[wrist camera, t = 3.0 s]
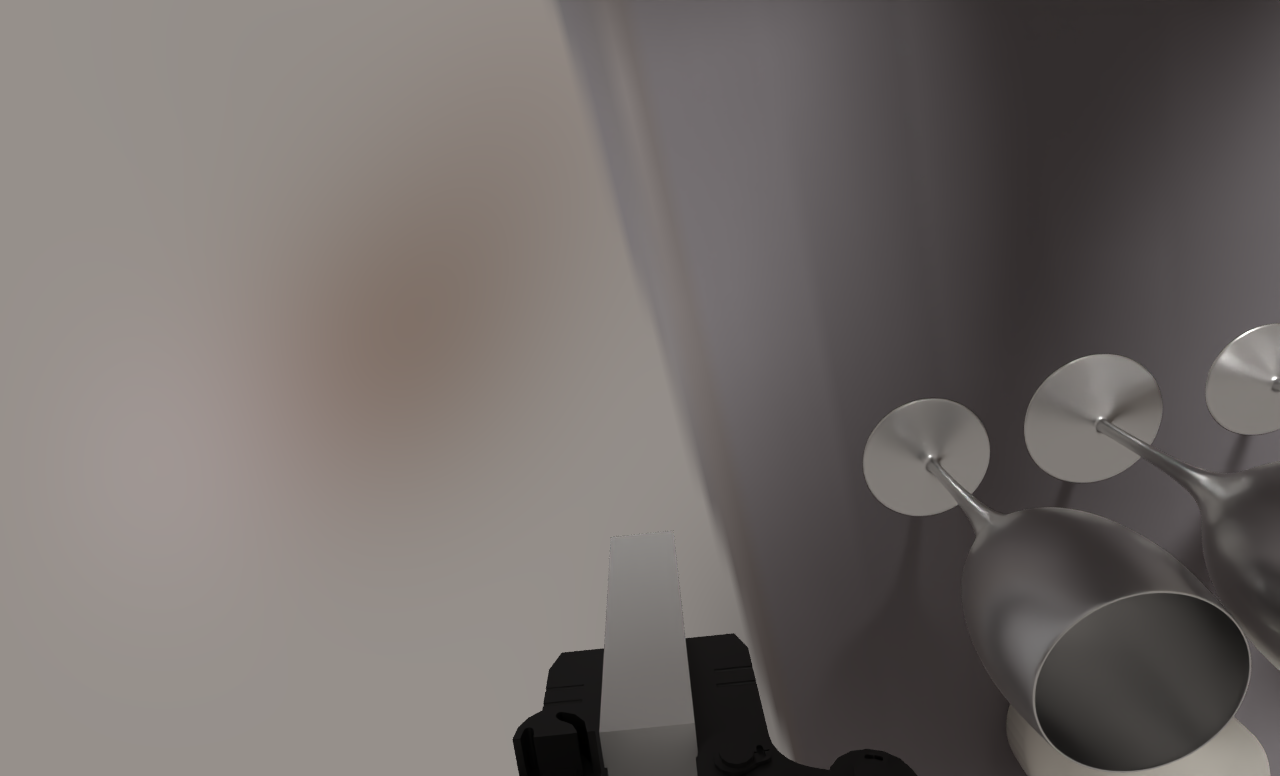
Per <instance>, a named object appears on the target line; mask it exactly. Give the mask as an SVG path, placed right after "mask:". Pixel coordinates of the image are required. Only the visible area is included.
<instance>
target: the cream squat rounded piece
mask: <svg viewBox="0 0 1280 776" xmlns="http://www.w3.org/2000/svg"><path fill="white" fill-rule="evenodd" d="M1006 731H1007V738H1008V742H1009V745H1010V747H1011V750H1012V752H1013V754H1014V755H1015V757H1016V759H1017V760H1018V762H1019V763H1020V765H1021V767H1022V768H1023V770H1024V771H1025V773H1026V775H1027V776H1270V768H1269V762H1268V759H1267V755H1266V753H1265V751H1264V749H1263V747H1262V745H1261V744H1260V742H1259V741H1258V740H1257V738H1256V737H1255V736H1254V735H1253V734H1252V733H1251V732H1250V731H1249V730H1248V729H1247V728H1246V727H1245V726H1244V725H1243V724H1241V723H1240V722H1239V721H1238V720H1237V719H1236V718H1235V717H1233V718H1232V719H1231V721H1230V722H1229V723H1228V724H1227V725H1226V727H1225V728H1224V729H1223V730H1222V731H1221V732H1220V733H1219V734H1218V735H1217V736H1216V737H1214V738H1213V739H1212V740H1211V741H1210V742H1208V743H1207V744H1206V745H1204V746H1203V747H1202V748H1200V749H1199V750H1197V751H1195V752H1194V753H1192V754H1190V755H1188V756H1186V757H1184V758H1182V759H1180V760H1178V761H1176V762H1173V763H1171V764H1168V765H1165V766H1162V767H1159V768H1155V769H1151V770H1146V771H1139V772H1129V773H1114V772H1104V771H1098V770H1094V769H1090V768H1087V767H1084V766H1081V765H1079V764H1077V763H1074V762H1072V761H1071V760H1069V759H1067V758H1066V757H1064V756H1063V755H1061V754H1060V753H1058V752H1057V751H1056V750H1055V749H1054V748H1053V747H1052V746H1050V745H1049V744H1048V743H1047V742H1046V741H1045V740H1044V739H1043V738H1042V737H1041V736H1040V735H1039V734H1038V733H1037V732H1036V731H1035V730H1034V729H1033V728H1032V727H1031V726H1030V725H1029V724H1028V723H1027V722H1026V720H1025V719H1024V718H1023V717H1022V716H1021V715H1020V714H1019V713H1018V712H1017V711H1016V710H1015V709H1014V708H1013V706H1012V705H1011V704H1010V706H1009V709H1008V713H1007V721H1006Z"/></svg>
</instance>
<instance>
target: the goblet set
mask: <svg viewBox="0 0 1280 776" xmlns="http://www.w3.org/2000/svg"><path fill="white" fill-rule="evenodd" d="M1205 399H1206V404H1207V407H1208V410H1209V412H1210V414H1211V415H1212V417H1213V418H1214V419H1215V421H1216V422H1217V423H1218V424H1220V425H1221V426H1222V427H1224V428H1225V429H1227V430H1229V431H1231V432H1234V433H1238V434H1243V435H1260V434H1265V433H1269V432H1273V431H1275V430H1278V429H1280V323H1274V324H1266V325H1262V326H1259V327H1256V328H1253V329H1251V330H1248V331H1246V332H1244V333H1243V334H1241V335H1239V336H1238V337H1236V338H1235V339H1234V340H1232V341H1231V342H1230V343H1229V344H1228V345H1227V346H1226V347H1225V348H1224V349H1223V350H1222V351H1221V352H1220V354H1219V355H1218V356H1217V358H1216V359H1215V361H1214V362H1213V364H1212V366H1211V368H1210V371H1209V373H1208V376H1207V380H1206V385H1205ZM1162 411H1163V404H1162V396H1161V392H1160V389H1159V387H1158V384H1157V382H1156V381H1155V379H1154V377H1153V376H1152V375H1151V373H1150V372H1149V371H1148V370H1147V369H1146V368H1145V367H1143V366H1142V365H1141V364H1139V363H1138V362H1136V361H1134V360H1132V359H1130V358H1127V357H1124V356H1121V355H1116V354H1094V355H1088V356H1084V357H1081V358H1078V359H1075V360H1073V361H1071V362H1069V363H1067V364H1065V365H1063V366H1062V367H1060V368H1059V369H1057V370H1056V371H1055V372H1053V373H1052V374H1051V375H1050V376H1049V377H1048V378H1047V379H1046V380H1045V381H1044V382H1043V383H1042V384H1041V385H1040V386H1039V388H1038V389H1037V390H1036V392H1035V394H1034V395H1033V397H1032V399H1031V401H1030V403H1029V405H1028V408H1027V411H1026V415H1025V420H1024V439H1025V444H1026V447H1027V450H1028V452H1029V454H1030V456H1031V458H1032V459H1033V461H1034V462H1035V463H1036V464H1037V465H1038V466H1039V467H1040V468H1041V469H1042V470H1043V471H1044V472H1046V473H1047V474H1049V475H1051V476H1052V477H1055V478H1057V479H1060V480H1063V481H1067V482H1072V483H1091V482H1097V481H1101V480H1105V479H1108V478H1110V477H1113V476H1115V475H1117V474H1119V473H1121V472H1123V471H1124V470H1126V469H1127V468H1129V467H1130V466H1132V465H1133V464H1134V463H1135V462H1136V461H1138V460H1139V459H1140V458H1141V457H1142V458H1144V459H1145V460H1147V461H1148V462H1150V463H1151V464H1153V465H1154V466H1156V467H1157V468H1159V469H1160V470H1162V471H1163V472H1165V473H1166V474H1167V475H1169V476H1170V477H1171V478H1173V479H1174V480H1175V481H1177V482H1178V483H1179V484H1180V485H1181V486H1182V487H1184V488H1185V489H1186V490H1187V491H1188V492H1189V493H1190V494H1191V496H1192V497H1193V498H1194V499H1195V501H1196V503H1197V504H1198V506H1199V509H1200V513H1201V534H1202V548H1203V555H1204V560H1205V564H1206V568H1207V571H1208V574H1209V577H1210V579H1211V582H1212V584H1213V587H1214V589H1215V591H1216V593H1217V595H1218V597H1219V599H1220V600H1221V602H1222V604H1223V605H1224V606H1223V605H1222V604H1221V603H1220V602H1219V601H1218V600H1217V598H1216V597H1215V596H1214V595H1213V594H1212V593H1211V592H1210V591H1209V590H1208V589H1207V588H1206V587H1205V586H1204V584H1203V583H1202V582H1201V581H1200V580H1199V579H1198V578H1197V577H1196V576H1195V575H1194V574H1193V573H1192V572H1191V571H1189V570H1188V569H1187V568H1186V567H1185V566H1184V565H1183V564H1182V563H1181V562H1179V561H1178V560H1177V559H1176V558H1175V557H1173V556H1172V555H1171V554H1170V553H1168V552H1167V551H1165V550H1164V549H1163V548H1161V547H1160V546H1158V545H1157V544H1156V543H1154V542H1152V541H1151V540H1149V539H1148V538H1146V537H1144V536H1143V535H1141V534H1139V533H1137V532H1135V531H1133V530H1131V529H1130V528H1128V527H1126V526H1124V525H1122V524H1119V523H1117V522H1114V521H1112V520H1110V519H1107V518H1105V517H1102V516H1099V515H1095V514H1092V513H1088V512H1085V511H1080V510H1075V509H1068V508H1059V507H1040V508H1031V509H1025V510H1020V511H1016V512H1013V513H1010V514H1003V513H1000V512H997V511H995V510H993V509H992V508H990V507H988V506H986V505H985V504H984V503H982V502H981V501H979V500H978V499H977V498H975V497H974V496H973V495H972V493H973V492H974V491H975V490H976V489H977V487H978V486H979V485H980V483H981V481H982V480H983V478H984V476H985V474H986V471H987V468H988V465H989V460H990V441H989V437H988V434H987V431H986V429H985V427H984V425H983V423H982V422H981V420H980V419H979V418H978V417H977V416H976V414H974V413H973V412H972V411H971V410H970V409H968V408H967V407H965V406H964V405H962V404H960V403H957V402H955V401H952V400H948V399H943V398H924V399H918V400H914V401H911V402H908V403H906V404H903V405H901V406H899V407H897V408H896V409H894V410H893V411H891V412H890V413H888V414H887V415H886V416H885V417H884V418H883V419H882V420H881V421H880V422H879V423H878V424H877V425H876V426H875V428H874V429H873V431H872V432H871V434H870V436H869V438H868V440H867V442H866V445H865V448H864V452H863V460H862V467H863V474H864V478H865V481H866V484H867V486H868V488H869V490H870V491H871V493H872V494H873V496H874V497H875V498H876V499H877V500H878V501H879V502H880V503H882V504H883V505H884V506H886V507H887V508H889V509H891V510H893V511H895V512H898V513H901V514H904V515H909V516H930V515H935V514H939V513H942V512H945V511H948V510H950V509H952V508H954V507H956V506H957V505H959V506H960V507H961V509H962V510H963V511H964V513H965V515H966V516H967V518H968V519H969V521H970V523H971V525H972V527H973V530H974V533H975V541H974V543H973V545H972V547H971V548H970V551H969V553H968V555H967V558H966V561H965V565H964V569H963V575H962V582H961V599H962V608H963V613H964V618H965V622H966V626H967V629H968V632H969V635H970V638H971V641H972V643H973V645H974V648H975V650H976V652H977V654H978V656H979V658H980V660H981V662H982V664H983V666H984V668H985V669H986V671H987V673H988V674H989V676H990V677H991V679H992V681H993V682H994V684H995V685H996V686H997V688H998V689H999V690H1000V692H1001V693H1002V694H1003V696H1004V697H1005V698H1006V699H1007V701H1008V702H1009V703H1010V704H1011V705H1012V706H1013V708H1014V709H1015V710H1016V711H1017V712H1018V713H1019V714H1020V715H1021V716H1022V717H1023V718H1024V719H1025V720H1026V722H1027V723H1028V724H1029V725H1030V726H1031V727H1032V728H1033V729H1034V730H1035V731H1036V732H1037V733H1038V734H1039V735H1040V736H1041V737H1042V738H1043V739H1044V740H1045V741H1046V742H1047V743H1048V744H1049V745H1050V746H1052V747H1053V748H1054V749H1055V750H1056V751H1057V752H1058V753H1060V754H1061V755H1063V756H1064V757H1066V758H1067V759H1069V760H1071V761H1072V762H1074V763H1077V764H1079V765H1081V766H1084V767H1087V768H1090V769H1094V770H1098V771H1104V772H1114V773H1129V772H1139V771H1146V770H1151V769H1155V768H1159V767H1162V766H1165V765H1168V764H1171V763H1173V762H1176V761H1178V760H1180V759H1182V758H1184V757H1186V756H1188V755H1190V754H1192V753H1194V752H1195V751H1197V750H1199V749H1200V748H1202V747H1203V746H1204V745H1206V744H1207V743H1208V742H1210V741H1211V740H1212V739H1213V738H1214V737H1216V736H1217V735H1218V734H1219V733H1220V732H1221V731H1222V730H1223V729H1224V728H1225V727H1226V725H1227V724H1228V723H1229V722H1230V721H1231V719H1232V718H1233V717H1234V715H1235V714H1236V712H1237V711H1238V709H1239V707H1240V705H1241V704H1242V702H1243V700H1244V697H1245V695H1246V692H1247V689H1248V686H1249V682H1250V677H1251V667H1252V662H1251V653H1250V648H1249V644H1248V641H1247V639H1246V637H1247V638H1248V639H1249V640H1250V641H1251V643H1252V644H1253V645H1254V646H1255V647H1256V648H1257V649H1258V650H1259V651H1260V652H1261V653H1262V654H1263V655H1264V656H1265V657H1266V658H1267V659H1268V660H1269V661H1270V662H1271V663H1272V664H1273V665H1274V666H1275V667H1276V668H1277V669H1278V670H1279V671H1280V461H1277V462H1273V463H1268V464H1264V465H1261V466H1257V467H1254V468H1251V469H1247V470H1244V471H1240V472H1235V473H1217V472H1212V471H1208V470H1204V469H1201V468H1198V467H1196V466H1193V465H1190V464H1188V463H1186V462H1184V461H1181V460H1179V459H1177V458H1175V457H1173V456H1171V455H1169V454H1167V453H1165V452H1163V451H1161V450H1159V449H1157V448H1155V447H1153V446H1151V444H1152V442H1153V441H1154V439H1155V437H1156V435H1157V432H1158V430H1159V427H1160V423H1161V419H1162Z"/></svg>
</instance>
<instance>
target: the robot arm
mask: <svg viewBox="0 0 1280 776" xmlns="http://www.w3.org/2000/svg"><path fill="white" fill-rule="evenodd" d="M513 744H514V750H515V755H516V760H517V766H518V771H519V776H917V775H916V774H915V772H914V771H913V770H912V769H911V768H910V767H909V766H908V765H907V764H905V763H904V762H903V761H902V760H901V759H900V758H897V757H895V756H893V755H891V754H888V753H886V752H883V751H877V750H870V749H864V750H856V751H850V752H849V753H847V754H845V755H843V756H841V757H839V758H838V759H837V760H836V761H835V762H834V764H833V765H832V766H831V767H830V770H825V769H819V768H813V767H809V766H805V765H801V764H798V763H796V762H794V761H792V760H790V759H788V758H786V757H785V756H784V755H782V754H781V753H780V752H779V751H778V750H777V749H776V748H775V746H774V745H773V744H772V742H771V740H770V737H769V734H768V730H767V726H766V722H765V717H764V713H763V709H762V705H761V700H760V696H759V692H758V688H757V684H756V679H755V675H754V671H753V668H752V663H751V659H750V654H749V650H748V647H747V646H746V645H745V644H743V642H742V641H741V640H740V639H739V638H738V637H737V636H736V635H735V634H725V635H714V636H705V637H694V638H685V632H684V622H683V613H682V604H681V595H680V586H679V577H678V568H677V559H676V550H675V541H674V532H673V531H665V532H655V533H646V534H637V535H627V536H617V537H611V544H610V561H609V578H608V594H607V611H606V629H605V644H604V649H595V650H584V651H574V652H565V653H561V655H560V656H559V657H558V659H557V660H556V661H555V663H554V664H553V665H552V667H551V668H550V669H549V674H548V680H547V686H546V692H545V698H544V707H543V710H542V711H540V712H539V713H537V714H535V715H533V716H531V717H529V718H528V719H527V720H526V721H525V722H523V723H522V724H521V725H520V726H519V727H518V729H517V731H516V733H515V735H514V737H513Z"/></svg>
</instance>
